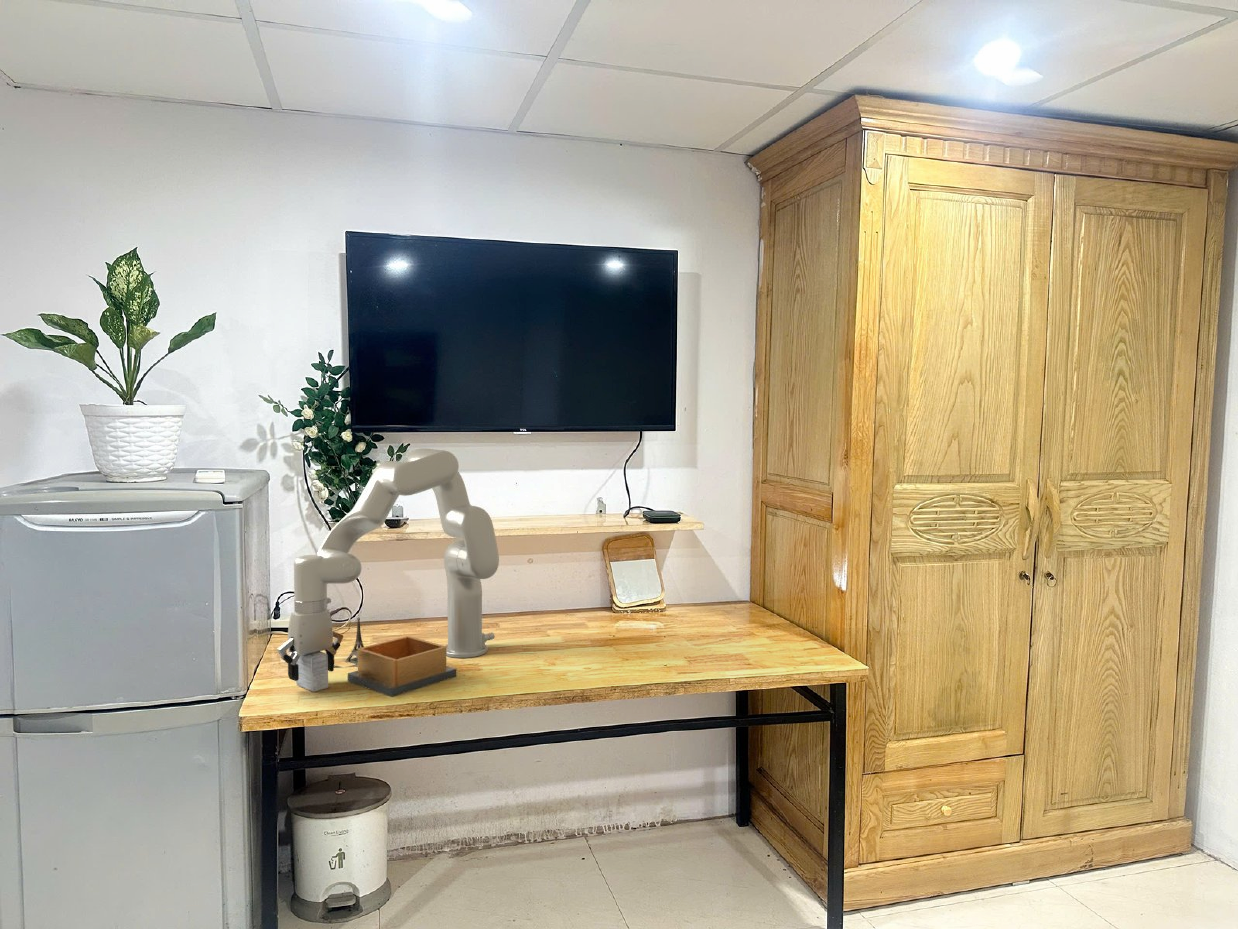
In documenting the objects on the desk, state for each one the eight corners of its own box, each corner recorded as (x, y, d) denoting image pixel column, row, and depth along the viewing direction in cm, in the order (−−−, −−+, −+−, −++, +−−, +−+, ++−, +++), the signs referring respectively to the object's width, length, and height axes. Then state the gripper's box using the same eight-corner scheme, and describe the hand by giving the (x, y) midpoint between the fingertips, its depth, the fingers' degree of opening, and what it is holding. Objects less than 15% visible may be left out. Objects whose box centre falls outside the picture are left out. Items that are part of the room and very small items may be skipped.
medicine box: (328, 688, 211) (328, 653, 210) (311, 692, 207) (311, 657, 207) (312, 681, 216) (312, 647, 215) (295, 685, 213) (295, 651, 212)
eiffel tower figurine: (328, 670, 226) (327, 620, 225) (330, 659, 236) (329, 611, 235) (387, 666, 230) (386, 617, 229) (386, 655, 240) (386, 608, 239)
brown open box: (412, 662, 232) (411, 633, 231) (456, 676, 220) (456, 645, 220) (347, 681, 216) (347, 650, 215) (391, 696, 205) (391, 664, 204)
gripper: (333, 598, 219) (334, 664, 220) (269, 610, 206) (270, 680, 207) (350, 602, 215) (351, 669, 216) (286, 615, 201) (287, 687, 202)
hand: (311, 674), depth 211 cm, fingers open, 9 cm apart
